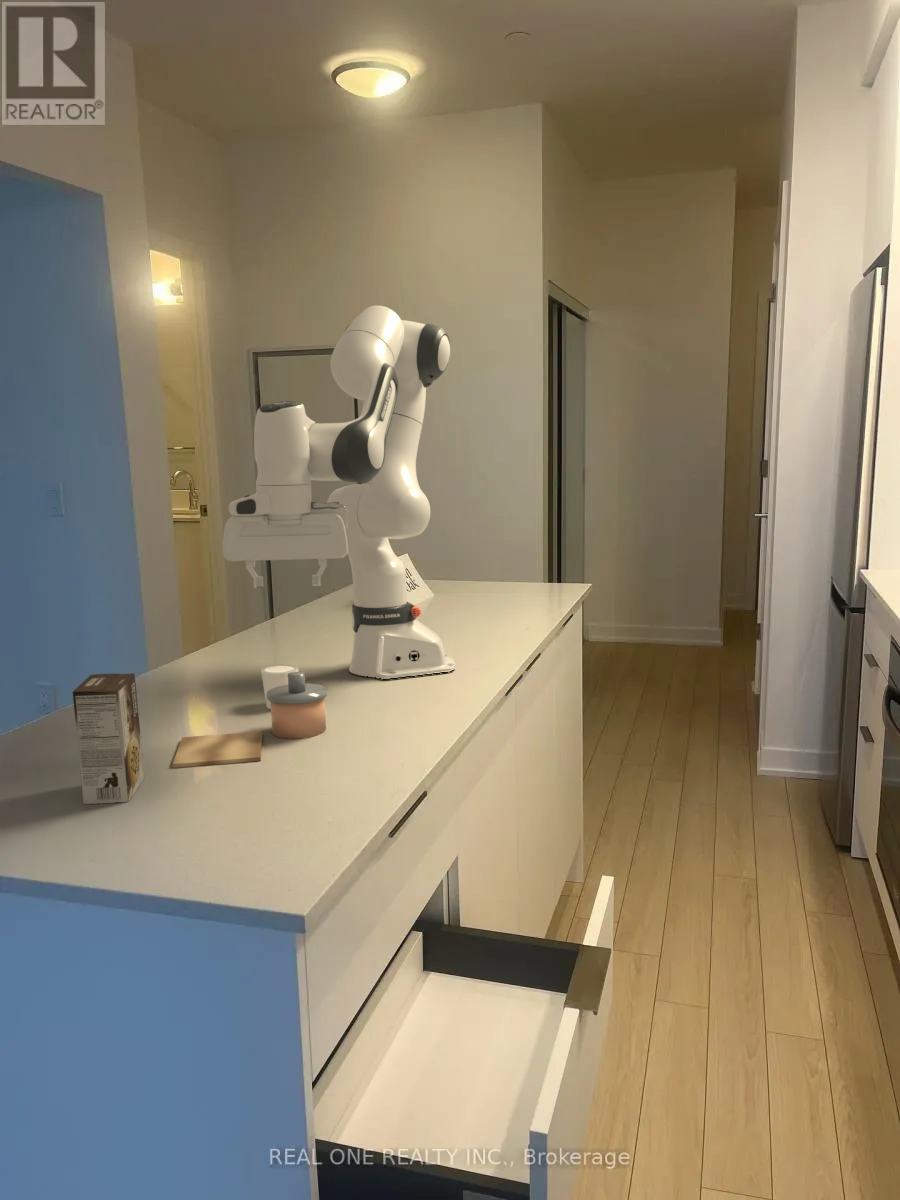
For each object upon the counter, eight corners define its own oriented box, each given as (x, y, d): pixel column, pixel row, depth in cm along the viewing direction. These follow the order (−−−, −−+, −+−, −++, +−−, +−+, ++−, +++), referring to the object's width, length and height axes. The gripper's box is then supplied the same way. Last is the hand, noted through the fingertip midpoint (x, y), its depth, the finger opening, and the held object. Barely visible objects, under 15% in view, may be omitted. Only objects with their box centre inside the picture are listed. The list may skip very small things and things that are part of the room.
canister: (325, 720, 161) (323, 687, 160) (327, 736, 152) (325, 701, 151) (272, 724, 160) (270, 690, 159) (271, 740, 151) (269, 705, 150)
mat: (262, 734, 154) (262, 731, 154) (260, 760, 141) (260, 757, 141) (182, 740, 152) (182, 737, 152) (172, 767, 139) (172, 764, 139)
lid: (326, 686, 161) (325, 664, 160) (328, 701, 151) (327, 679, 150) (267, 690, 159) (266, 668, 158) (266, 706, 149) (264, 683, 149)
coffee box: (100, 781, 135) (90, 673, 132) (145, 778, 135) (136, 671, 132) (81, 805, 126) (70, 690, 123) (129, 802, 126) (119, 688, 123)
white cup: (307, 701, 173) (305, 665, 172) (289, 712, 167) (287, 674, 165) (274, 699, 175) (272, 663, 174) (255, 709, 169) (253, 672, 168)
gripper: (347, 500, 155) (350, 582, 157) (223, 502, 152) (227, 585, 154) (349, 502, 149) (351, 587, 151) (219, 504, 146) (223, 591, 148)
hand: (287, 586), depth 152 cm, fingers open, 8 cm apart
